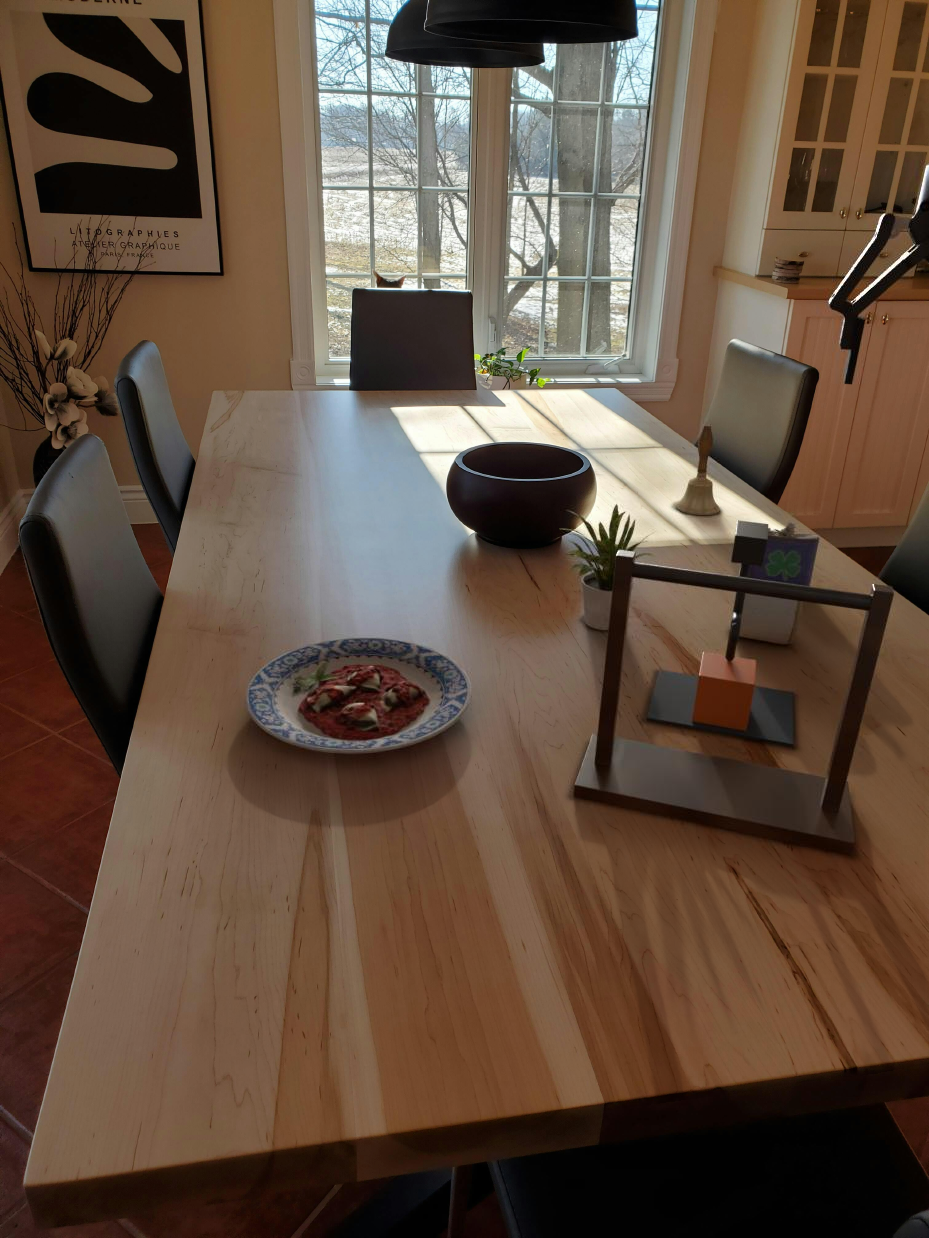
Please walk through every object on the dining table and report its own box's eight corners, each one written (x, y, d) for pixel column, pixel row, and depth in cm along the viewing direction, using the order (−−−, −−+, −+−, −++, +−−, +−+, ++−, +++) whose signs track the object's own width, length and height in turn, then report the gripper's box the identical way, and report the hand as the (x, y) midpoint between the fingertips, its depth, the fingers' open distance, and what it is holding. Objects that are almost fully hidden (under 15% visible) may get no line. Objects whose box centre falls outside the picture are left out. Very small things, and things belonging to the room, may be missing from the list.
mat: (792, 694, 109) (793, 691, 109) (793, 747, 98) (793, 744, 98) (659, 672, 113) (659, 669, 113) (646, 720, 103) (646, 717, 103)
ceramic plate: (517, 706, 105) (518, 684, 103) (342, 801, 88) (340, 776, 87) (374, 633, 121) (373, 613, 120) (203, 701, 104) (200, 678, 103)
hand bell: (695, 518, 167) (707, 433, 160) (665, 505, 173) (676, 422, 166) (728, 511, 170) (741, 428, 163) (698, 499, 177) (710, 418, 170)
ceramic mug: (793, 655, 118) (804, 602, 115) (729, 644, 120) (738, 591, 117) (796, 624, 127) (806, 573, 124) (736, 614, 129) (745, 564, 126)
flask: (807, 588, 138) (820, 522, 134) (810, 595, 136) (824, 529, 131) (745, 582, 140) (756, 517, 135) (747, 590, 137) (759, 524, 132)
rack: (845, 793, 91) (902, 570, 80) (851, 855, 83) (916, 615, 72) (591, 744, 98) (613, 533, 87) (573, 797, 89) (594, 570, 79)
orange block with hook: (748, 705, 106) (782, 524, 96) (746, 731, 100) (782, 542, 91) (696, 696, 107) (724, 517, 97) (691, 721, 102) (720, 535, 92)
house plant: (550, 594, 134) (558, 488, 127) (644, 600, 133) (657, 494, 126) (548, 637, 121) (557, 522, 114) (652, 644, 120) (667, 529, 113)
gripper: (832, 155, 85) (791, 383, 94) (1137, 160, 78) (1061, 405, 87) (829, 158, 91) (791, 371, 100) (1110, 162, 84) (1042, 391, 94)
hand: (916, 387), depth 94 cm, fingers open, 13 cm apart
